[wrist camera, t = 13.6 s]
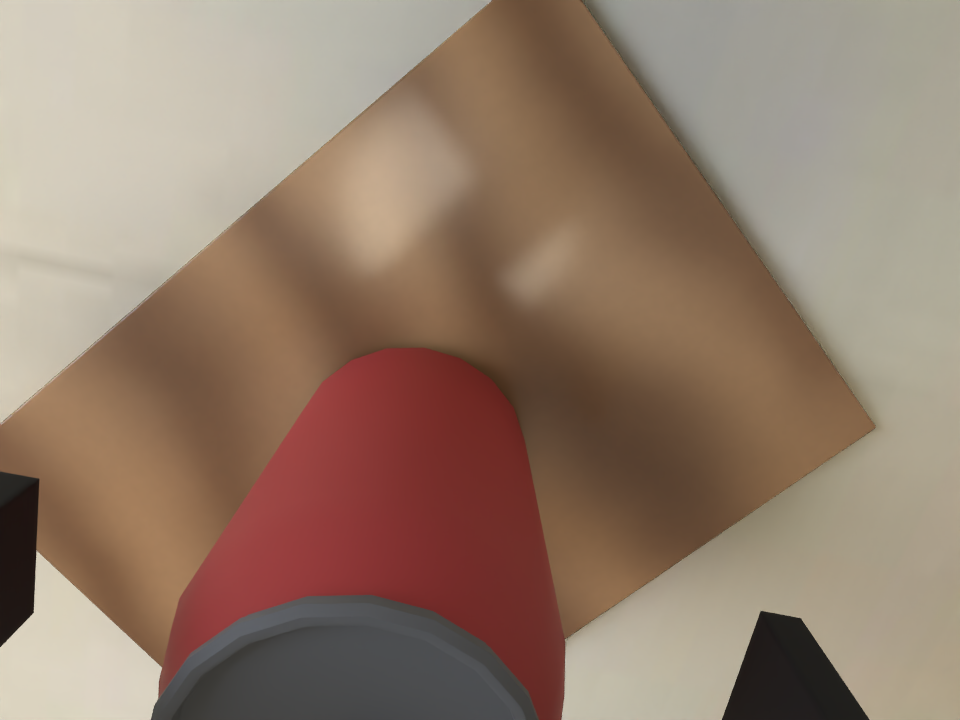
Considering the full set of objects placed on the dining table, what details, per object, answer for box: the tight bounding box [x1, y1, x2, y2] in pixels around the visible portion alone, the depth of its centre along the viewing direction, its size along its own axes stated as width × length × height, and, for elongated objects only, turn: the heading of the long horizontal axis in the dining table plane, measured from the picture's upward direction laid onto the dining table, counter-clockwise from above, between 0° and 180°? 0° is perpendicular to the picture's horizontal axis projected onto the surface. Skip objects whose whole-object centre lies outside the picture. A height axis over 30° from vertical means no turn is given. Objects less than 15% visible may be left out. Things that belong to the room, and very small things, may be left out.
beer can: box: [151, 348, 565, 720], centre depth 16 cm, size 7×7×12 cm
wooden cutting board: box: [0, 0, 876, 667], centre depth 22 cm, size 22×16×1 cm
